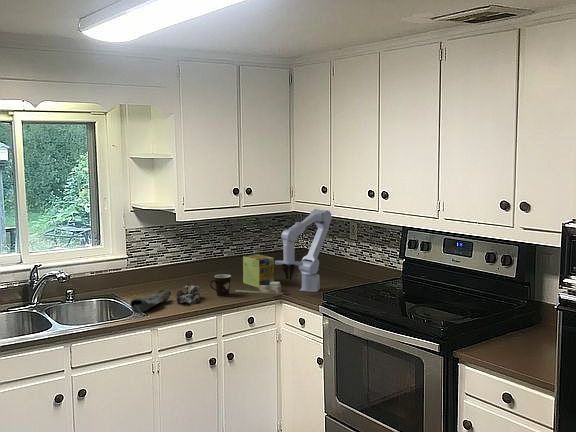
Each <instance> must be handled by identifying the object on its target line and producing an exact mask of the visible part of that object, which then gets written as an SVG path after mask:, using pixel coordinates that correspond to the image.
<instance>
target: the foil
mask: <svg viewBox="0 0 576 432" xmlns="http://www.w3.org/2000/svg"><path fill="white" fill-rule="evenodd" d="M181 286H182V287H181V288H179V289H178V290H177V293H176V303H177V304H180V303H181V302H184V301H186V303H187V304H188V305H190V306H191V305H196V304H197V303H200V299H201V297H200V296H201V292H200V289H201V286H200V285H197V284H194V285H191V284H190V283H187V284H186V285H185V286H184V285H183V284H181ZM184 288H186V291H185V292H184V291H182V289H184Z"/></svg>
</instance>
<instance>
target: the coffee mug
mask: <svg viewBox="0 0 576 432" xmlns="http://www.w3.org/2000/svg"><path fill="white" fill-rule="evenodd" d="M231 280H232V275H231V274H225V273H224V274H223V273H222V274H215V275H214V279H212V280H211V281H210V283H209V286H210V288H212V289H213V290H214V291H216V292H215V294H216V296H217V297H228V296H230V291H231V290H230V289H231ZM213 282H214V284H215V285H214V286H215V287H213V285H212V284H213Z"/></svg>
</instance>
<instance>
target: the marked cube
mask: <svg viewBox="0 0 576 432" xmlns="http://www.w3.org/2000/svg"><path fill="white" fill-rule="evenodd" d="M279 285H281V282H280V281H274V282H271V283H270V286H279Z"/></svg>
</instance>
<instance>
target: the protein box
mask: <svg viewBox="0 0 576 432" xmlns="http://www.w3.org/2000/svg"><path fill="white" fill-rule="evenodd" d="M242 263H243V264H242V267H243V268H242V270H243V271H242V274H243V278H242V281H243V282H242V283H243V284H245V285H249V286H252V287H255V288H258V289H259V285H267V286H270V283H271V282H275V257H273V256H272V257H271V256H267V255H262V254H250V255H243V257H242Z"/></svg>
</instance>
